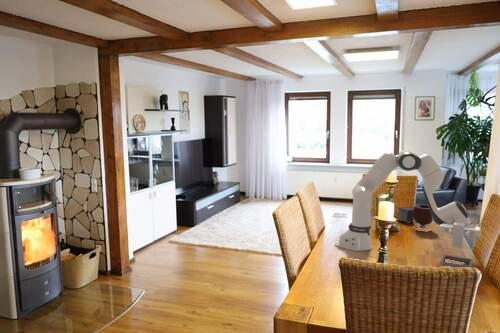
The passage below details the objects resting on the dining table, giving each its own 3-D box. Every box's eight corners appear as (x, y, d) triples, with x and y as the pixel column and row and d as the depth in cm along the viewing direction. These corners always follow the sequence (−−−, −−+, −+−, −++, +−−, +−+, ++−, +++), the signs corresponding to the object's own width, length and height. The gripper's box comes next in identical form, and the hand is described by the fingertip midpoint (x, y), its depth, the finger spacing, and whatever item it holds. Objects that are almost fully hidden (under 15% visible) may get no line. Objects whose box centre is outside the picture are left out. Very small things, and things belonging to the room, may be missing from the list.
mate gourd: (422, 226, 293) (423, 199, 291) (437, 231, 280) (439, 203, 278) (406, 228, 287) (407, 201, 285) (421, 233, 274) (422, 205, 272)
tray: (440, 268, 210) (440, 261, 210) (443, 260, 222) (444, 254, 221) (470, 273, 203) (470, 267, 202) (472, 265, 214) (472, 259, 214)
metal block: (452, 246, 210) (453, 224, 209) (453, 244, 214) (454, 222, 213) (462, 248, 207) (463, 225, 206) (463, 245, 212) (464, 223, 210)
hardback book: (385, 230, 282) (386, 197, 279) (375, 229, 286) (376, 196, 283) (392, 225, 297) (393, 193, 294) (382, 223, 301) (383, 192, 298)
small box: (413, 222, 303) (414, 209, 302) (407, 223, 301) (407, 210, 299) (403, 219, 313) (404, 206, 312) (397, 220, 310) (397, 207, 309)
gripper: (440, 219, 226) (437, 225, 215) (482, 224, 215) (480, 230, 203) (440, 230, 227) (436, 236, 215) (481, 235, 216) (479, 242, 204)
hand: (458, 233), depth 209 cm, fingers closed on metal block, 5 cm apart
